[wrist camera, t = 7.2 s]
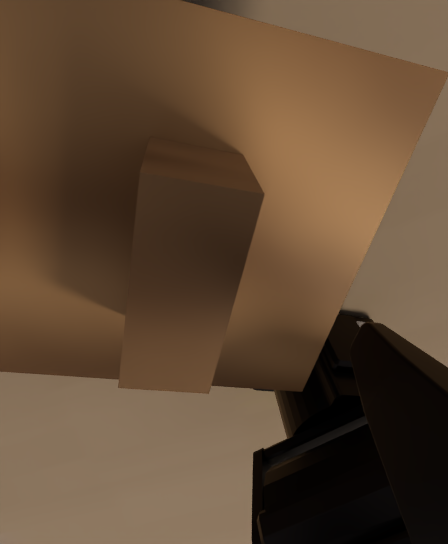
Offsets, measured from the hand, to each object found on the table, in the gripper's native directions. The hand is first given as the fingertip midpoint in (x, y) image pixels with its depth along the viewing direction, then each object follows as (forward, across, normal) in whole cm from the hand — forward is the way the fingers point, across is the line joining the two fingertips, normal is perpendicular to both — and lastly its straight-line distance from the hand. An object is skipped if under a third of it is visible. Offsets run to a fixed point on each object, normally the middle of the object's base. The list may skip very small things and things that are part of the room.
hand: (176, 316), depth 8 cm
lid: (+5, 0, 0) cm, 5 cm away
